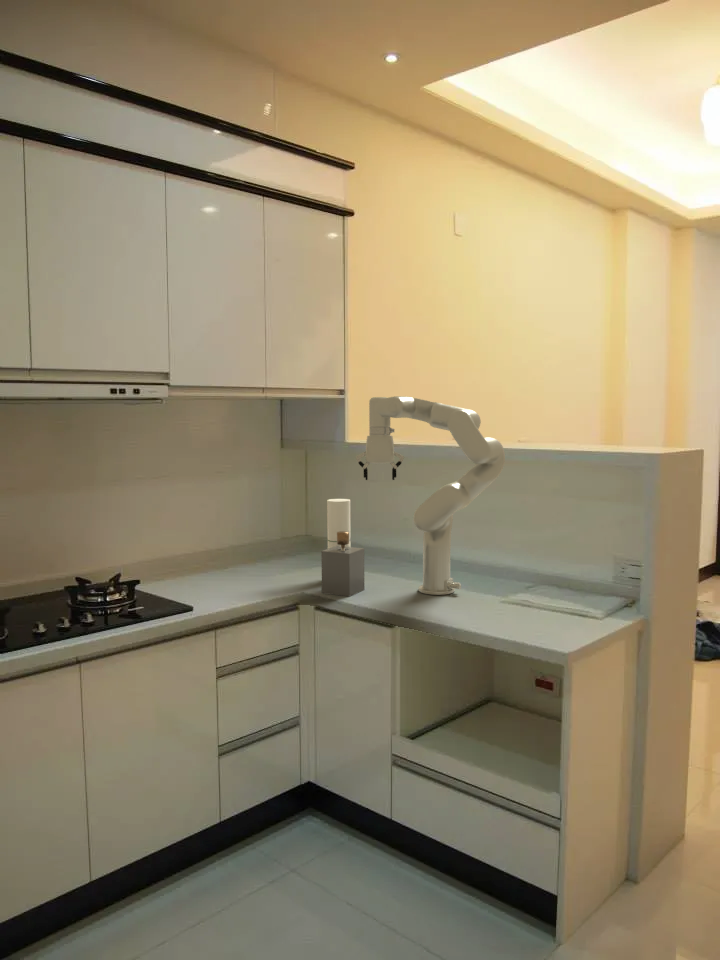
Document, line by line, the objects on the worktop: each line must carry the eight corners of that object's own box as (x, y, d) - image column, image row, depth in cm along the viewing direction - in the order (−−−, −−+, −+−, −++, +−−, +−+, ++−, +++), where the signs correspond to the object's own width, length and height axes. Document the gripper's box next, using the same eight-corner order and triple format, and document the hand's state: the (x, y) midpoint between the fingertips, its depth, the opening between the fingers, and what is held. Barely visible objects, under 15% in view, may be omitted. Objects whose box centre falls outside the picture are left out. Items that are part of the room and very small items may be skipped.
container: (339, 576, 291) (339, 498, 288) (355, 579, 285) (355, 500, 282) (323, 579, 285) (322, 500, 282) (338, 583, 279) (338, 502, 276)
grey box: (364, 589, 269) (364, 548, 268) (349, 596, 260) (349, 553, 258) (337, 586, 274) (337, 545, 273) (321, 593, 265) (321, 551, 263)
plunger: (358, 586, 269) (358, 531, 267) (347, 591, 262) (347, 534, 260) (339, 584, 272) (338, 529, 270) (328, 589, 265) (327, 533, 263)
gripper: (403, 431, 275) (403, 478, 277) (355, 431, 275) (356, 478, 277) (404, 432, 268) (404, 480, 269) (355, 432, 268) (355, 480, 270)
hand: (379, 479), depth 273 cm, fingers open, 9 cm apart
